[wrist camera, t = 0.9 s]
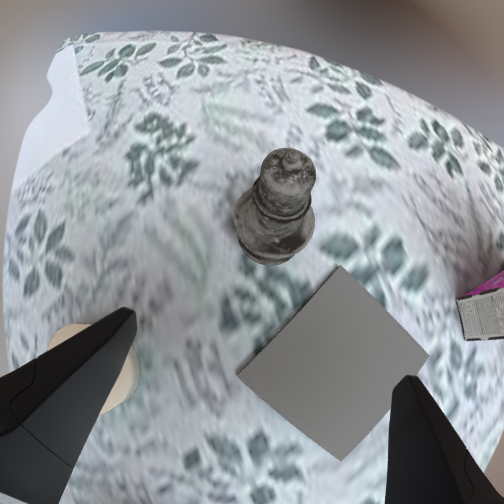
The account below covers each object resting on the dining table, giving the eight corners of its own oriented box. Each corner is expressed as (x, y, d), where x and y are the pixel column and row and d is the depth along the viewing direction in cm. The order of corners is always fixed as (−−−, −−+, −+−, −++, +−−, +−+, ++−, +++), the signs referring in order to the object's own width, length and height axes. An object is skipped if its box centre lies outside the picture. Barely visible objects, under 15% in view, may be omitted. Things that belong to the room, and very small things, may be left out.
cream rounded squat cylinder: (107, 419, 20) (86, 432, 16) (58, 358, 21) (33, 360, 17) (157, 371, 21) (141, 379, 17) (103, 308, 22) (80, 303, 19)
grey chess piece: (254, 190, 25) (264, 91, 14) (315, 220, 25) (368, 138, 13) (221, 248, 24) (205, 174, 12) (286, 281, 23) (330, 235, 12)
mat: (339, 458, 20) (341, 461, 19) (236, 374, 21) (236, 376, 21) (425, 355, 22) (429, 355, 22) (338, 266, 24) (340, 265, 23)
